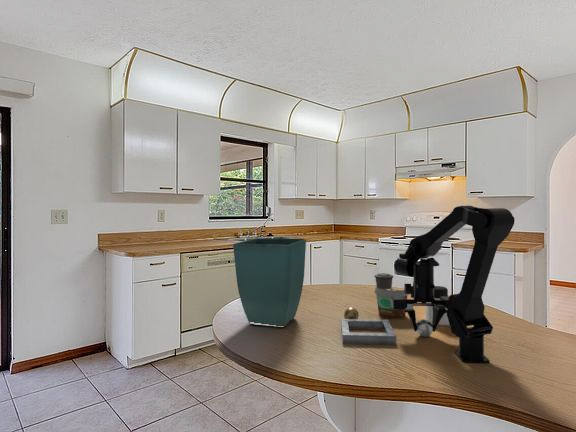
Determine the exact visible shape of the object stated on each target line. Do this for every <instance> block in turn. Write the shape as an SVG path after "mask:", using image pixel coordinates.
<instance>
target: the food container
mask: <svg viewBox="0 0 576 432" xmlns="http://www.w3.org/2000/svg"><path fill="white" fill-rule="evenodd" d="M373 293H374V294H375V295H376V302H377V311H378V312H377V313H378V315H379V316H380V317H382V318H384V319H392V320H393V319H395V320H397V319H402V318H405V317H406V315H407V314H406V313H407V312H404V310H398V309H393V307H392V306H391V297H392V296H404V297H405V298H406V299H408V296H409V295H410V294H405V292H404V289H402V290H401V289H400V290H399V289H396V288H391V289H378V288H377V286H375V287H374V292H373Z"/></svg>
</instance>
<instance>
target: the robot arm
mask: <svg viewBox="0 0 576 432" xmlns="http://www.w3.org/2000/svg"><path fill="white" fill-rule="evenodd" d="M466 225H467V226H471V227H472V228H471V231H472V235H473V239H474V245H473V248H472V251H471V255H470V257H469V258H470V259H469V262H468V264H467V268H466V272H465V276H464V279H463V282H462V285H461V288H460V291H459V292H458V293H453V294H450V295H448V296H441V297H440V300H435V299H434V288H435V286H436V285H435V279H434V278H435V276H434V275H435V270H434V268H435V267H440V263H439V262H438V261H437V260H436V259H435V258H434V256H436V255H437V253H438V252H439V251H440V250H441V249H442V245H443V243H445V241H447V240H448V239H449V238H451V237H452V236H453V235H454V234H456V233H457V232H458V231H460V230H461V229H462V228H463V227H465V226H466ZM514 225H515V217H514V216H513V213H512V212H511V211H510V210H509V209H508V208H505V207H504V208H503V207H500V208H499V207H497V208H496V207H495V208H493V207H492V208H491V207H490V208H483V207H477V206H473V205H457V206H456V207H454V208H453V209H452V211H451V212H450V213H449V214H448V215H447V216H445V217H444V218H443V219H441V221H439V222H438V224H436V225H435V226H433V227H432V229H431V230H429V231H428V232H426V233H422V234H420V235H417V236H416V237H413V238H412V239H411V240H410V241H409V245H408V246H407V248H406V251H405V253H404V252H403V253H399V254H398V256H399V257H398V258H397V259H395V262H394V264H393V267H394V271H395V273H397V274H398V275H402V276H406V277H411V278H413V281H412V283H404V286H403V288H404V289H403V290H404V292H405V294H409V295H410V298H411V299H410V298H409V299H408V298H407V299H406V298H405V297H404V296H392V297H391V306H392V307H393V309H398V310H404V312H406V313H407V315H408V316H409V319H410V323H411V325H412V328H413V331H414V332H416V333H417V331H416V323H417V317H416V310H415V309H414V307H425V306H432V307H433V320H432V326H433V332H432V333H435V332H436V330H437V328H438V326H439V325H438V324H439V321H440V320H441V318H442V316H443V315H444V313H447V317H448V320H449V324H450V326H449V328H450V331H451V334H453V335H455V337H458V349H454V353H455V355H456V356H457V357H458V358H459V360H460V361H461V362H463V363H487V364H489V363H490V361H491V360H490V359H489V358H488V357H487V356H486V355H485V335H492V332H493V329H494V327H493V325H492V323H491V322H490V321H489V319H488V318H487V317H486V315H485V309H486V308H485V304H484V302H483V301H484V300H483V298H482V297H483V294H484V291H485V287H486V284H487V281H488V278H489V275H490V272H491V269H492V266H493V263H494V260H495V256H496V253H497V251H498V248H499V245H501V244H502V243H503V242H504V241H505V239H507V238H508V236H509V235H510V233H511V231H512V229H513V228H514ZM426 302H428V303H426ZM430 302H431V303H430ZM446 308H447V310H446Z"/></svg>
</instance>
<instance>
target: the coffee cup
mask: <svg viewBox="0 0 576 432" xmlns="http://www.w3.org/2000/svg"><path fill="white" fill-rule="evenodd" d="M374 278H375V284H376V287H377V288H378V289H393V288H392V287H393V278H394V275H392V274H390V273H385V272H384V273H377V274H374Z"/></svg>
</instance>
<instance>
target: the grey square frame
mask: <svg viewBox="0 0 576 432" xmlns="http://www.w3.org/2000/svg"><path fill="white" fill-rule="evenodd" d="M340 324H341V325H340V326H341V338H342V339H341V340H342V344H343V345H344V344H345V345H346V344H348V345H349V344H350V345H352V344H353V345H355V344H356V345H382V346H383V345H385V346H386V345H388V346H389V345H390V346H396V345H397V336H396V333H395V331H394V329H393V327H392V325H391V323H390V321H389V319H373V318H372V319H370V318H369V319H366V318H365V319H363V318H362V319H361V318H358V319H345V318H341V323H340ZM350 329H352V330H353V329H354V330H355V329H356V330H357V329H358V330H361V329H362V330H382V332H383V333H382V332H381V333H380V332H379V333H377V332H350Z"/></svg>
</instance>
